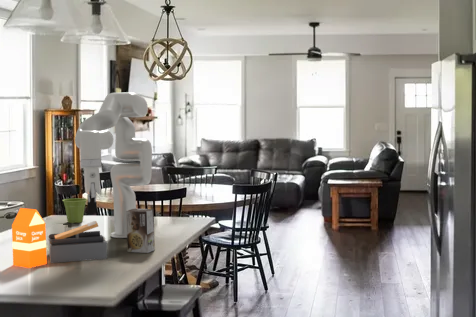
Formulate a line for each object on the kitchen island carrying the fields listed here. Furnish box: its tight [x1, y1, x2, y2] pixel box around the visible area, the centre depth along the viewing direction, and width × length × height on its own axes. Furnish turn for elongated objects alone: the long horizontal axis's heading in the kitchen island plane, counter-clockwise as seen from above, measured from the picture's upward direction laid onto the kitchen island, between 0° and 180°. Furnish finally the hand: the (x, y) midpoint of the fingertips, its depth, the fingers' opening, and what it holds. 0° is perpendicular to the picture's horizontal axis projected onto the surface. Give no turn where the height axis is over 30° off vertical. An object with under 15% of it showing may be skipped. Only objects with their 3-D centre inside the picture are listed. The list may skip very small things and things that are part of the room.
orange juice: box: [11, 207, 48, 269], centre depth 233 cm, size 8×9×20 cm
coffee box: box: [126, 208, 156, 254], centre depth 254 cm, size 9×6×16 cm
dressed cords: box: [48, 230, 105, 245], centre depth 245 cm, size 19×14×2 cm
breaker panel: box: [48, 234, 108, 264], centre depth 246 cm, size 20×16×9 cm
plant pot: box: [62, 198, 88, 224], centre depth 326 cm, size 12×12×11 cm
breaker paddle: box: [54, 220, 99, 239], centre depth 245 cm, size 16×6×1 cm, turn 107°
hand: (92, 212), depth 246 cm, fingers closed
